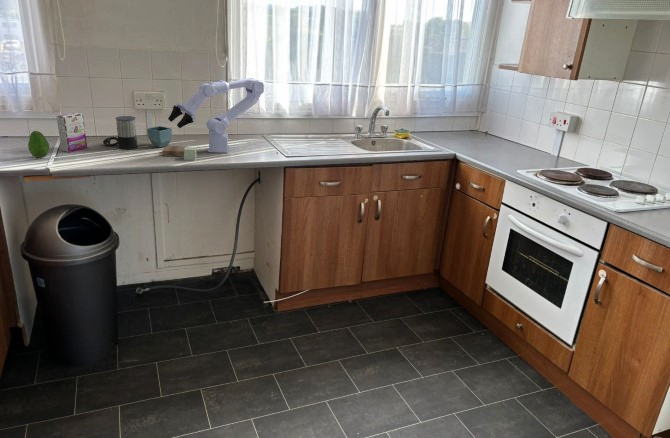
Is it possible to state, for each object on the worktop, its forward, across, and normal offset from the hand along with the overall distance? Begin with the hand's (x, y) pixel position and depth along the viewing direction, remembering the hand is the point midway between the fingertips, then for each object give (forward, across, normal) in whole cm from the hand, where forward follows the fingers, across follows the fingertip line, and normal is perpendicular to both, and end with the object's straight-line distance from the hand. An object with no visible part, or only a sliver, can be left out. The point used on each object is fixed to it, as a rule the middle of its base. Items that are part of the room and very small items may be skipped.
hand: (173, 123), depth 237 cm
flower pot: (+11, -14, +15) cm, 24 cm away
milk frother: (+24, -22, +6) cm, 33 cm away
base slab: (+10, +2, +11) cm, 15 cm away
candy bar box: (+40, -28, -7) cm, 49 cm away
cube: (+7, +13, +10) cm, 18 cm away
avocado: (+51, -21, -20) cm, 59 cm away
